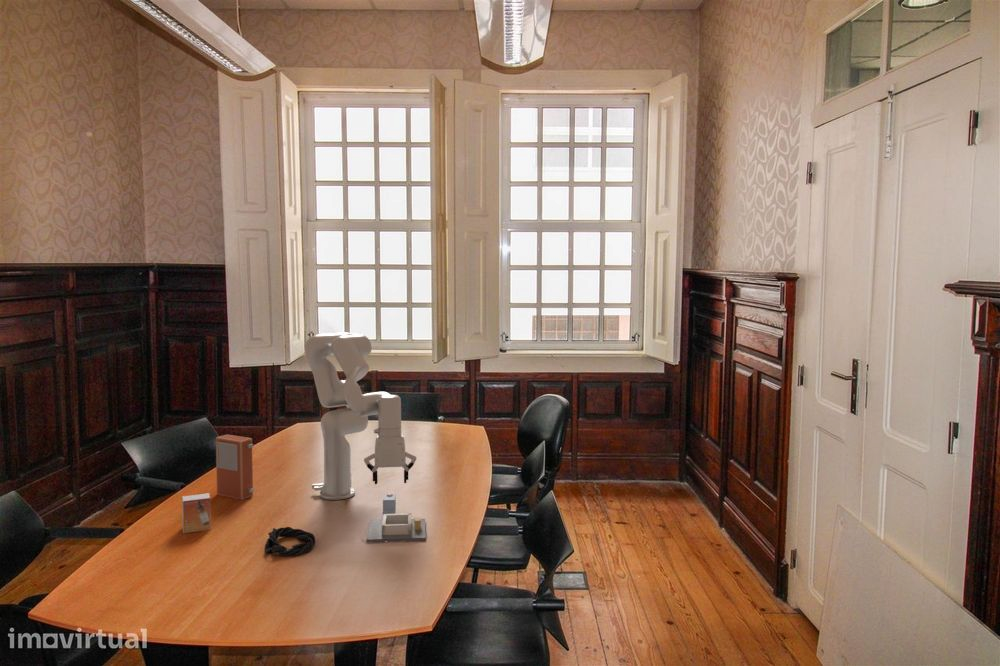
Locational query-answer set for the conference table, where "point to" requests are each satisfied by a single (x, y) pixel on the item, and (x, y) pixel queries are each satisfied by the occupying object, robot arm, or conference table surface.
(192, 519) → the small box
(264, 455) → the conference table surface
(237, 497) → the orange electrical enclosure
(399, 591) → the conference table surface
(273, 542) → the cable
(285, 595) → the conference table surface
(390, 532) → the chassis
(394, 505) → the block
